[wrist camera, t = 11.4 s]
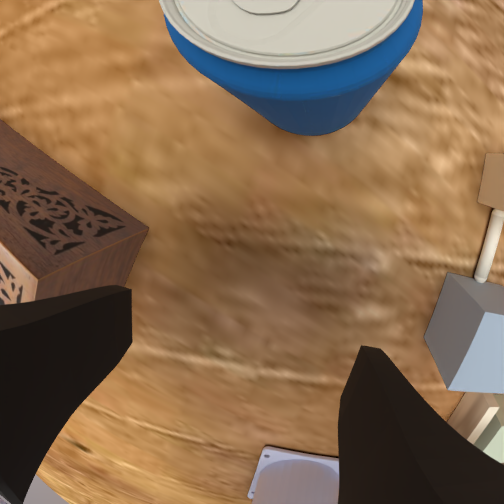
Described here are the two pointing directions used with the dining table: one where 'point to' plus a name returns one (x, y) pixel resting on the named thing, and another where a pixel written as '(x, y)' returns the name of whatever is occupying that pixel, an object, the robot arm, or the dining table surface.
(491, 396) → the rack
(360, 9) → the beverage can
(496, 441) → the plain block
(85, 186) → the tissue box cover
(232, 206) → the dining table surface
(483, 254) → the corded block
